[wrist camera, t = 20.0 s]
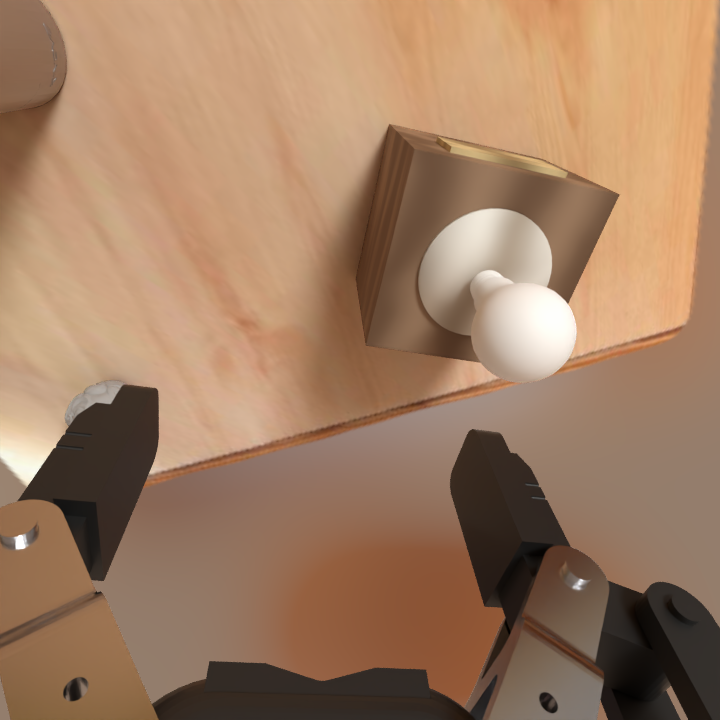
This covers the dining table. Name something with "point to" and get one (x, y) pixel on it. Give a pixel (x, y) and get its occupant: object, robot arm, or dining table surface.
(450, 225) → the lamp housing
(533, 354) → the lightbulb
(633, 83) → the dining table surface
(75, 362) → the dining table surface
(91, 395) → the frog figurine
